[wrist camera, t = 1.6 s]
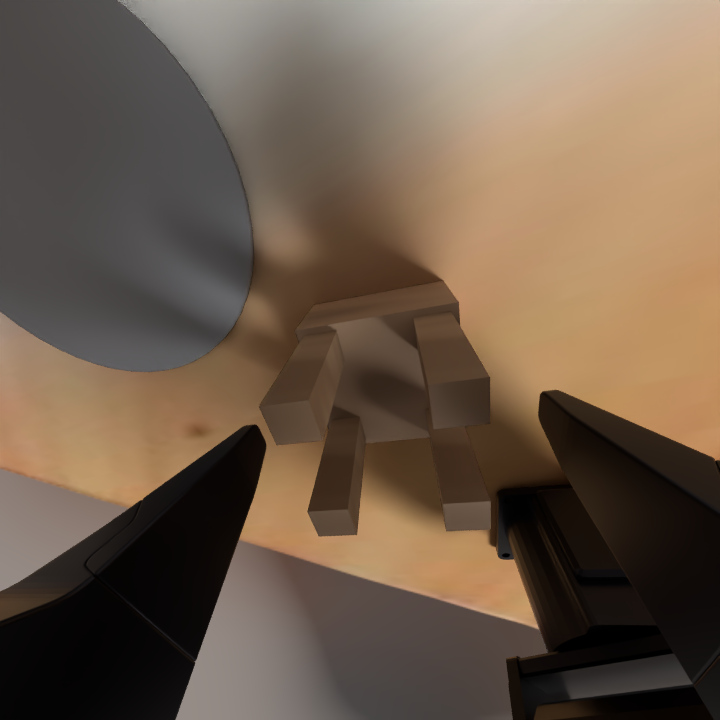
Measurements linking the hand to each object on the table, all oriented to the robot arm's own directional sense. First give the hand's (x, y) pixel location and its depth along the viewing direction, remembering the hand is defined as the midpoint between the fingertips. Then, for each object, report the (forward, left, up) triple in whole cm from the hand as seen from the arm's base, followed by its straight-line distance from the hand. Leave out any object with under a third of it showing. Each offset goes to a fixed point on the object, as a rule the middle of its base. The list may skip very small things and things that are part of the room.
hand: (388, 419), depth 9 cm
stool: (0, 0, -5) cm, 5 cm away
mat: (+8, +11, -5) cm, 14 cm away
